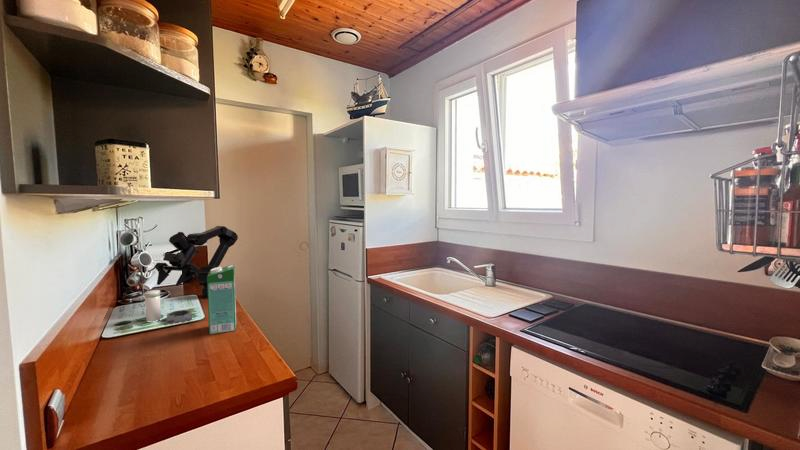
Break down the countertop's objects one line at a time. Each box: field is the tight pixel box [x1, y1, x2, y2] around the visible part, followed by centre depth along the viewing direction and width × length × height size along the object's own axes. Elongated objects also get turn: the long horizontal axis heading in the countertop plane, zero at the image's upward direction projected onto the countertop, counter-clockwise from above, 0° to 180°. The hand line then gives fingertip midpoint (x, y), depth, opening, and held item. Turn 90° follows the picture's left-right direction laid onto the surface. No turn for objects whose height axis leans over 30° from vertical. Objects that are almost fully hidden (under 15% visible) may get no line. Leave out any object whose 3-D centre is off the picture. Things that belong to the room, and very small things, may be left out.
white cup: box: [144, 289, 162, 321], centre depth 137 cm, size 5×5×12 cm
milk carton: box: [207, 264, 237, 335], centre depth 129 cm, size 9×9×25 cm
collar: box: [165, 309, 193, 325], centre depth 139 cm, size 9×9×3 cm
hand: (167, 285), depth 144 cm, fingers open, 9 cm apart
